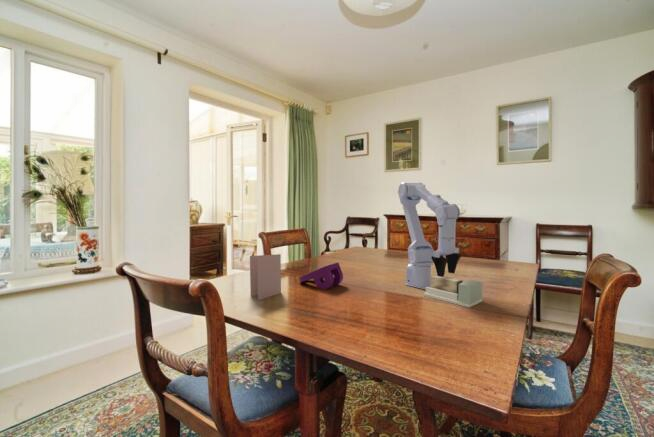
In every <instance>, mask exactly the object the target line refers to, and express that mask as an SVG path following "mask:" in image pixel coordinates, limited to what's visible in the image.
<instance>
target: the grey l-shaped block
mask: <svg viewBox="0 0 654 437" xmlns="http://www.w3.org/2000/svg"><path fill="white" fill-rule="evenodd" d="M423 297H427V298H431V299H434V300H438V301H442V302H445V303H449V304H454V305H458V306H463V307H466V308H471V307H473V306H475V305H477V304H479V303H482V302H483V281H481V280H477V279H476V280H475V279H469V280H465V281H463V283H460V284H459V292H458V294H456V293H452V292H447V291H443V290H439V289H434V288H431V287H426V289H425V292H424V293H423Z"/></svg>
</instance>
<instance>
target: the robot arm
mask: <svg viewBox="0 0 654 437" xmlns="http://www.w3.org/2000/svg"><path fill="white" fill-rule="evenodd" d="M397 194H398V197H399V201H400V205H402V210H403V213H404V217H405V220H406V225H407V229H408V232H409V235H410V240H411V244H409V246H407V254H408V255H407V257H408V258H407V259H408V261H409V262H410V263H408V265H407V266H406V270H405V271H406V273H405V274H406V275H405V276H406V277H405V284H404V285H405V286H408V287H414V288H417V289H421V290H426V287H430V288H431V276H432V266H433V264H434V267H435V270H436V275H438V276H440V277H444V276H445V273H446V266H447V272H448V274H455V273H456V268H457V266H458V263H459V260H460V259H461V257H462V254H461V253H460V247H456V227H457V226H456V225H457V220H458V218H460V213H461V212H460V211H461V209H460V208H459V206H458V205H457V204H456V203H451V204H450V203H449V202H448V200H445V199H444V198H442V196H441V195H440V194H432V193H431V192H430V191H429V190H428V189H427V187H426V184H425V183H423V182H401V183H400V184H399V186H398V189H397ZM421 200H423V201H425V202H426V206H427V207H428V208H429V209H430V210H431V211H433V213H435V218H436V219H437V221H436V222H437V225H438V243H437V244H438V245H437V246H438V247H437V248H438V249H436V250H435V249H433V245H432V244H431V242H428V241H427V240H426V238H425V235H424V231H423V229H422V225H421V222H420V217H419V214H418V210H417V207H416V206H417V205H419V204H420V202H421Z"/></svg>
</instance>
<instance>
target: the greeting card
mask: <svg viewBox="0 0 654 437" xmlns="http://www.w3.org/2000/svg"><path fill="white" fill-rule="evenodd" d="M281 255H282V254H281V253H278V254H277V253H276V254H261V255H250V256H249V280H250V282H249V283H250V296H251V297H252V296H253V295H254V296H257V301H261V300H263V299H267V298H269V297H273V296H275V295H279V294H281V293H282V274H281V273H282V268H281V266H282V265H281V263H282V262H281V260H282V258H281ZM254 296H253V297H254Z"/></svg>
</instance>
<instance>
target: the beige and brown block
mask: <svg viewBox="0 0 654 437" xmlns="http://www.w3.org/2000/svg"><path fill="white" fill-rule="evenodd" d="M463 282H464V281H463V280H462V279H460V278H455V277H450V276H445V275H444V277H440V276H438V275H437V274H435V275H431V287H430V288H434V289H439V290H443V291H447V292H452V293H456V294H458V292H459V284H460V283H463Z"/></svg>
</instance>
